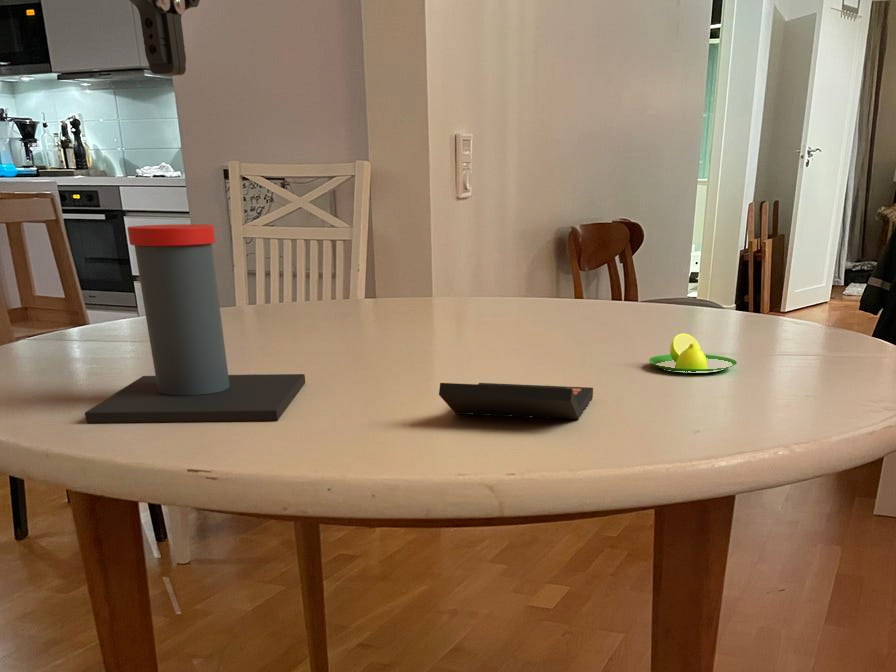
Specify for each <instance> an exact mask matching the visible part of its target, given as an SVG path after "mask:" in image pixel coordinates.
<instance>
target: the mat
mask: <svg viewBox="0 0 896 672" xmlns="http://www.w3.org/2000/svg"><path fill="white" fill-rule="evenodd" d="M228 376H229V384H230V387H229V388H228V389H227V390H224V391H221V392H218V393H213V394H206V395H196V396H172V395H165V394H161V393H159V392H158V388H157V382H156V376H155V375H142V376H140V377H139V378H137V379H135V380H134V381H133V382H131V383H129V384H127V385H126V386H125V387H122V388H121V389H120V390H118V391H116V392H115V393H113V394H112V395H110V396H108V397H107V398H106V399H104V400H102V401H100V402H99V403H98V404H96V405H95V406H92V408H89V409H88V410H86V411H85V412H84V416H85V422H86V423H87V424H114V423H115V424H117V423H118V424H119V423H120V424H123V423H124V424H125V423H196V422H197V423H199V422H201V423H203V422H205V423H207V422H209V423H210V422H276V421H279V419H280V418H281V417H282V416H283V414H284V412H286V410H287V409H288V408H289V406H290V405H291V403H292V402H293V401H294V399H295V398H296V396H297V395H298V394H299V392H300V391H301V390H302V389H303V387H304V386H305V385H306V375H305V373H293V374H292V373H282V374H281V373H280V374H279V373H275V374H274V373H273V374H271V373H269V374H228Z"/></svg>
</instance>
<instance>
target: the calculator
mask: <svg viewBox="0 0 896 672" xmlns="http://www.w3.org/2000/svg"><path fill="white" fill-rule="evenodd" d="M438 396H439V397H440V399H442V400H443V402H445V404H446V405H447V406H448V407H449V408H450V409H451V410H452V412H454V414H456V413H473V414H472V415H475V414H490V415H489V416H495V415H512V416H511V417H514V416H532V417H531V418H534V417H550V418H549V419H553V418H568V419H567V420H573V419H579V417H580V416H581V414H582V413H583V411H584V410H585V408H586V407H587V408H588V406H589V405H590V403H591V402H592V400H593V399H592V398H594V387H587V386H585V387H584V386H566V385H565V386H564V385H539V384H518V383H517V384H516V383H514V384H513V383H497V382H496V383H493V382H478V383H477V384H475V383H457V382H456V383H455V382H452V383H451V382H439V390H438ZM591 399H592V400H591ZM590 401H591V402H590ZM589 402H590V403H589ZM588 404H589V405H588ZM587 405H588V406H587ZM587 408H586V409H587ZM585 411H586V410H585ZM585 411H584V412H585ZM583 414H584V413H583ZM583 414H582V415H583ZM581 417H582V416H581ZM581 417H580V418H581ZM579 420H580V419H579Z"/></svg>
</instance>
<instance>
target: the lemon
mask: <svg viewBox="0 0 896 672" xmlns="http://www.w3.org/2000/svg"><path fill="white" fill-rule="evenodd" d="M669 353H670V354H661V355H660V354H659V355H656V356H652V357H650V358H649V359H648V362H649V363H651V364H652V365H654V366H656V367H657V368H659V369H660V368H662V369H665V370H671V371H685V372H686V371H687V372H688V371H691V372H696V371H713V370H721V369H726V368H728V369H730V368H732V367H734V366H736V365H737V364H738V363H737V362H738V361H736V360H735V359H733V358H730V357H725V356H719V355H714V354H705V353H704V352H703V350H702V349H701V346H700V343H699V342H698V341H697V339H696V338H695V337H693V336H692V335H691V334H688V333H678V334H677V335H675V336H674V337H673V338H672V341H671V344H670V347H669ZM706 358H708V359H718V360H724V361H728V362H731V363H732V364H733V366H730V368H729V367H726V368H717V369H706V368H707V359H706ZM672 360H674V362H676V365H675V368H671V367H665V366H659V365H656V364H657V363H661V362H665V361H672ZM662 369H661V370H662ZM665 370H664V371H665ZM726 370H727V369H726Z"/></svg>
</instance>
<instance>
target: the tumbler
mask: <svg viewBox="0 0 896 672" xmlns="http://www.w3.org/2000/svg"><path fill="white" fill-rule="evenodd" d="M126 228H127V235H128V241H129V245H131V246H134V252H135V259H136V263H137V264H136V265H137V271H138V276H139V283H140V289H141V295H142V302H143V307H144V314H145V319H146V326H147V331H148V336H149V343H150V344H149V345H150V350H151V351H150V352H151V357H152V364H153V369H154V374H155V375H154V376H156V382H157V388H158V392H159V393H161V394H165V395H172V396H196V395H206V394H213V393H218V392H221V391H224V390H227V389H228V388H229V387H230V384H229V376H228V375H229V369H228V362H227V361H228V360H227V354H226V345H225V338H224V330H223V329H224V328H223V321H222V314H221V306H220V305H221V304H220V299H219V289H218V283H217V275H216V267H215V259H214V251H213V244H215V243H216V235H215V234H216V233H215V227H214V225H213V224H191V223H189V224H187V223H185V224H183V223H182V224H148V225H147V224H145V225H144V224H143V225H132V226H128V227H126Z"/></svg>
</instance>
